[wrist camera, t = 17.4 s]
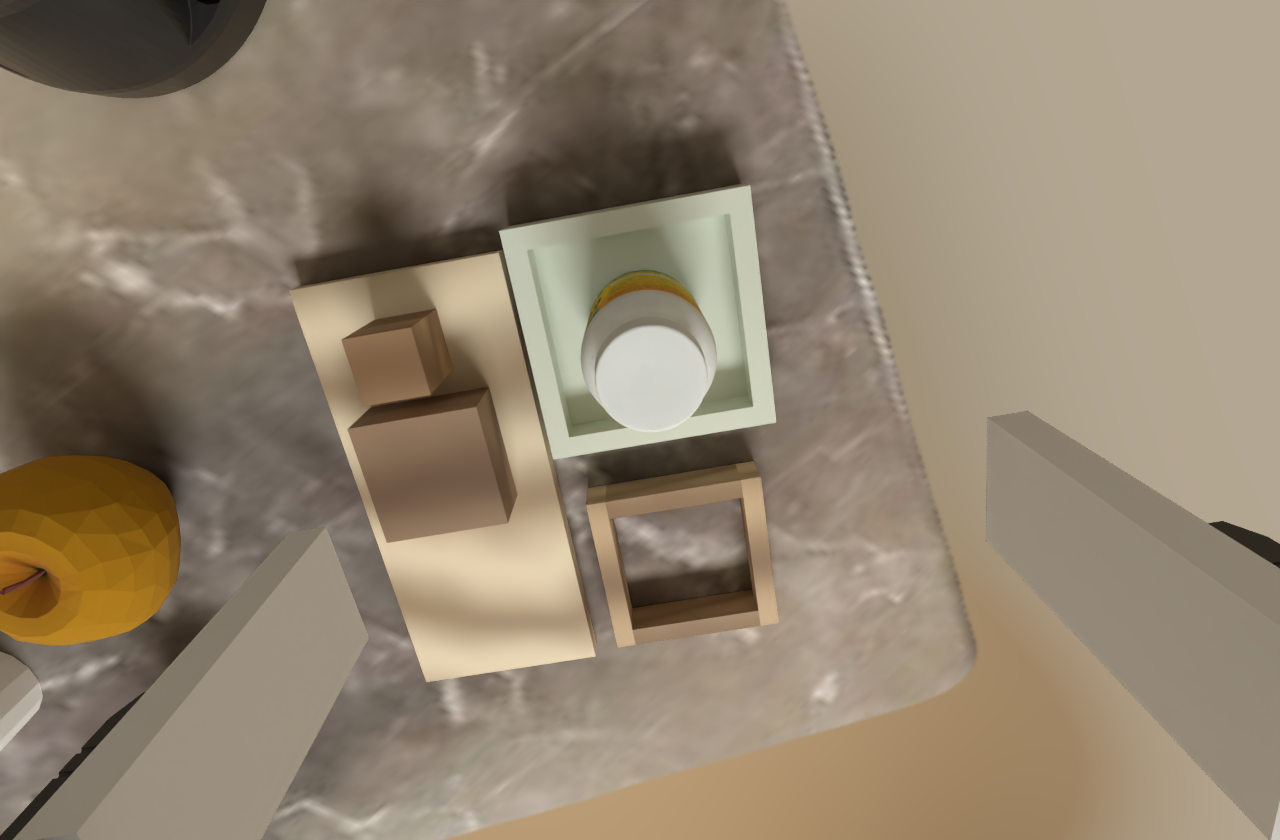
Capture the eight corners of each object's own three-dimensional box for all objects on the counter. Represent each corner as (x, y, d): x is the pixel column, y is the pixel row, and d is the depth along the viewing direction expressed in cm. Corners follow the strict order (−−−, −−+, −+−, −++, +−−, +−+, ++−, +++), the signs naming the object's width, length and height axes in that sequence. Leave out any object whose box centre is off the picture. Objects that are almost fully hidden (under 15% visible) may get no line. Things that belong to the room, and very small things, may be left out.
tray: (508, 226, 32) (498, 230, 30) (741, 183, 32) (750, 185, 29) (558, 440, 36) (553, 459, 33) (766, 405, 35) (776, 422, 33)
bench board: (300, 286, 33) (242, 307, 28) (503, 249, 32) (480, 264, 27) (432, 667, 41) (405, 735, 36) (596, 642, 40) (592, 708, 35)
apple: (253, 562, 38) (147, 675, 30) (98, 580, 38) (-51, 697, 30) (198, 412, 35) (61, 489, 27) (29, 432, 35) (-160, 516, 27)
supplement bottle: (701, 372, 34) (729, 448, 25) (593, 380, 34) (582, 457, 25) (697, 262, 32) (726, 300, 23) (583, 270, 32) (567, 311, 23)
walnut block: (370, 407, 34) (347, 429, 31) (489, 386, 33) (476, 406, 31) (405, 513, 36) (386, 543, 33) (517, 495, 36) (508, 523, 33)
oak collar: (588, 488, 37) (585, 505, 35) (753, 461, 36) (760, 477, 35) (618, 624, 40) (617, 647, 38) (771, 601, 39) (778, 622, 38)
